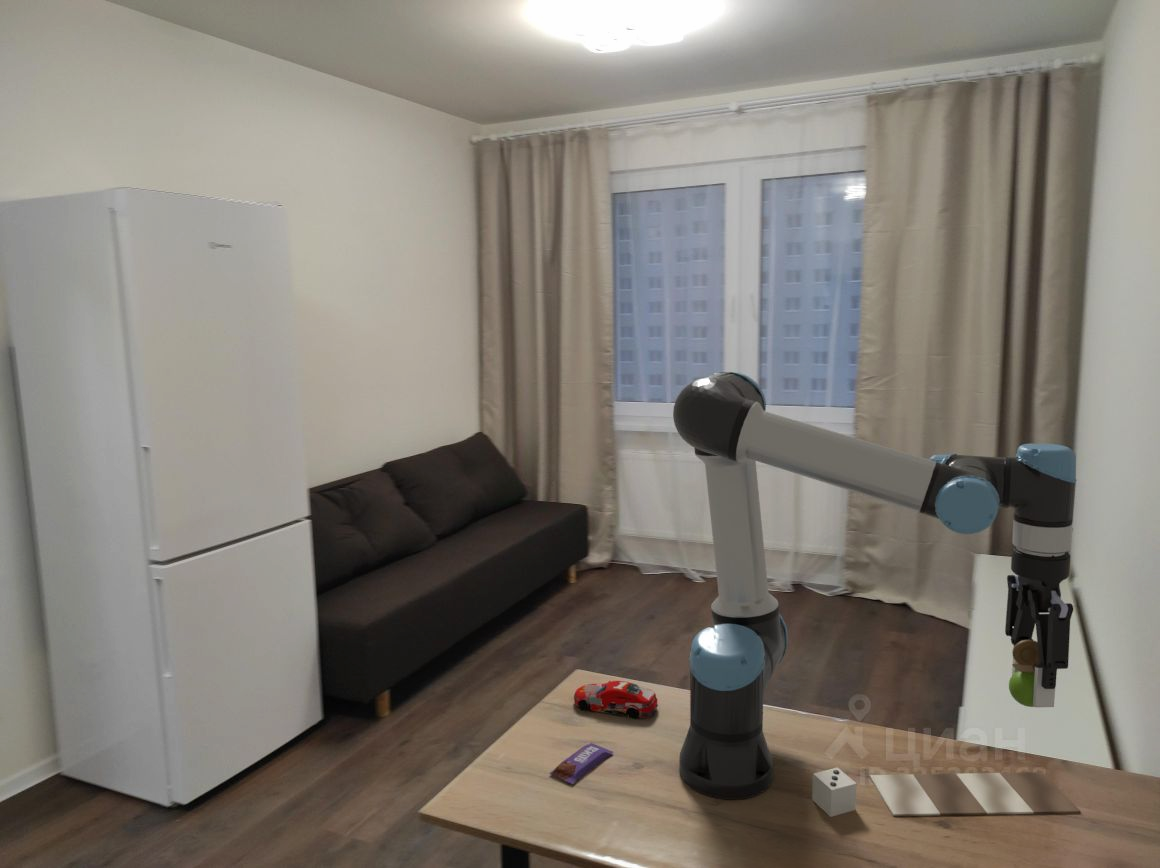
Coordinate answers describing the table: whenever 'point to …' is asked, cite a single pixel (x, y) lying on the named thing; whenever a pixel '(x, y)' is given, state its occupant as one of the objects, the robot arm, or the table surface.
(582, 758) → the snack package
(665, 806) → the table surface
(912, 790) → the game board
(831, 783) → the die
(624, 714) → the race car
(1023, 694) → the snail figurine
